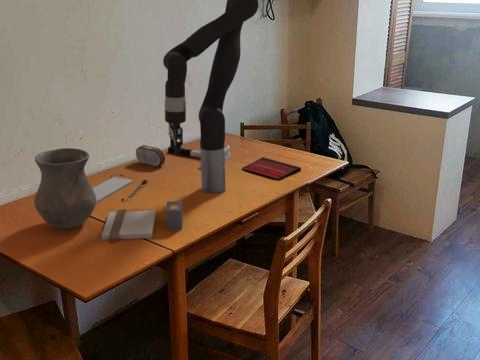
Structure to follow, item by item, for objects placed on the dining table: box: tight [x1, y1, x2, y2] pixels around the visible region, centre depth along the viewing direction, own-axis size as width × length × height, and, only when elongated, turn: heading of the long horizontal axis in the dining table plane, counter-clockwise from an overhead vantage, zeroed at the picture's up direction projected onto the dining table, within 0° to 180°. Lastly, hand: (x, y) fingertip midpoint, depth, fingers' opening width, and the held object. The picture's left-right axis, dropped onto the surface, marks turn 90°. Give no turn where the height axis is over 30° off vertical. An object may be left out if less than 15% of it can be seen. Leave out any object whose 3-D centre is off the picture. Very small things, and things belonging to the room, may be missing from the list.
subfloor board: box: [101, 208, 157, 243], centre depth 184 cm, size 16×22×2 cm
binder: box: [241, 156, 302, 181], centre depth 235 cm, size 16×2×21 cm
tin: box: [135, 144, 166, 168], centre depth 241 cm, size 15×3×8 cm, turn 58°
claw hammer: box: [167, 144, 231, 162], centre depth 253 cm, size 5×22×30 cm
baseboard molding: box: [92, 174, 134, 204], centre depth 212 cm, size 31×3×12 cm
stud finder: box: [165, 200, 184, 231], centre depth 184 cm, size 5×8×7 cm, turn 4°
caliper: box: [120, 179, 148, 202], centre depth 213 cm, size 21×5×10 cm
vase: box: [33, 147, 97, 231], centre depth 182 cm, size 20×19×25 cm
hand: (175, 151), depth 202 cm, fingers open, 8 cm apart
